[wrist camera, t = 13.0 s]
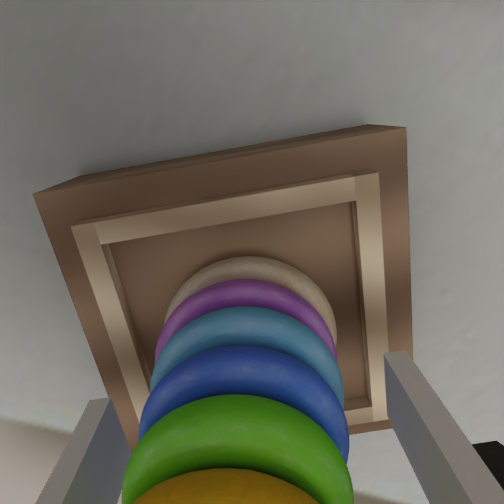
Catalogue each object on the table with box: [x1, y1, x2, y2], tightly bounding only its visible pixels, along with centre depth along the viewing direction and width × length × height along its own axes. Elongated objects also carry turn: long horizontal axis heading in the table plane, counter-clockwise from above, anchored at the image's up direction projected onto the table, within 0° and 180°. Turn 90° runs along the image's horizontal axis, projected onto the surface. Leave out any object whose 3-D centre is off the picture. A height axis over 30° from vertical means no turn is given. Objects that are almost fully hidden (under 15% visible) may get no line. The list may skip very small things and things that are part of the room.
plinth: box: [33, 124, 413, 453], centre depth 21 cm, size 16×16×6 cm
